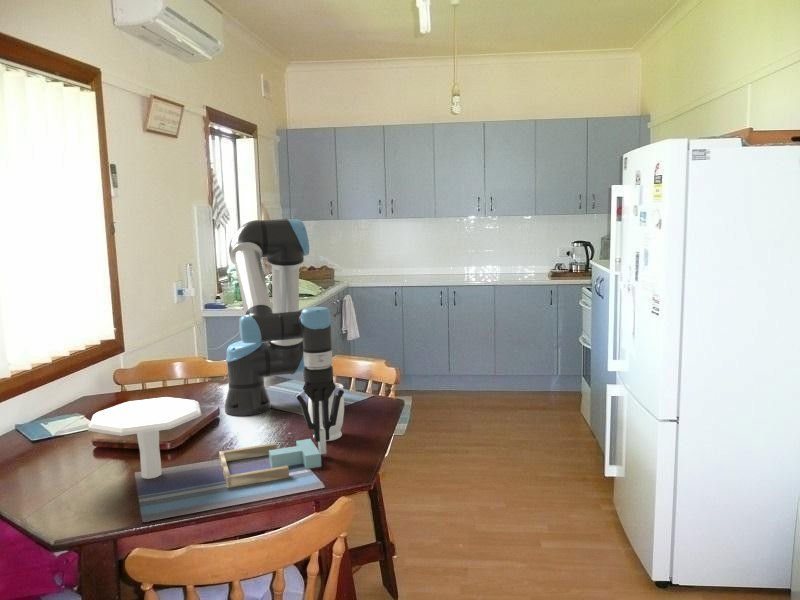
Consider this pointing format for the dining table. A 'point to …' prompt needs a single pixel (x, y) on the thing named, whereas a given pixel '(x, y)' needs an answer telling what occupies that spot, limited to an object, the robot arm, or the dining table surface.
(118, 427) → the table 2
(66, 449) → the dining table surface
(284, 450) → the t block
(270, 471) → the dock
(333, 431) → the jar
